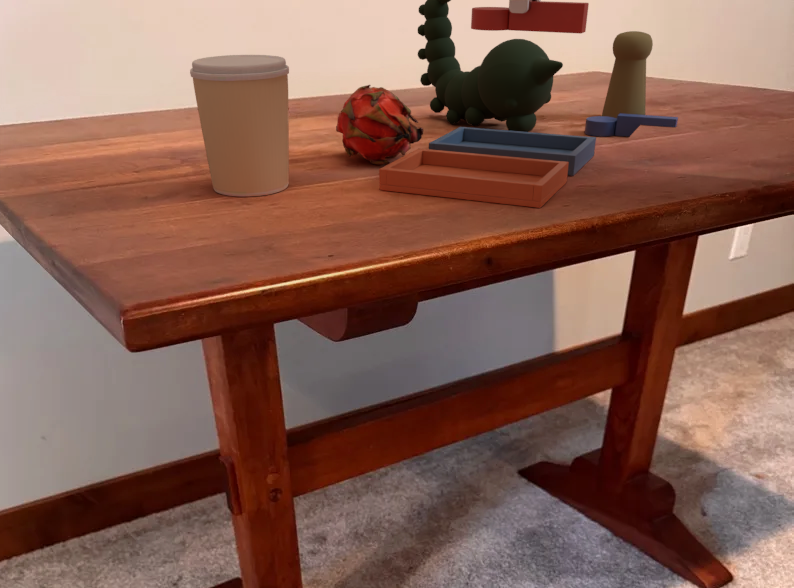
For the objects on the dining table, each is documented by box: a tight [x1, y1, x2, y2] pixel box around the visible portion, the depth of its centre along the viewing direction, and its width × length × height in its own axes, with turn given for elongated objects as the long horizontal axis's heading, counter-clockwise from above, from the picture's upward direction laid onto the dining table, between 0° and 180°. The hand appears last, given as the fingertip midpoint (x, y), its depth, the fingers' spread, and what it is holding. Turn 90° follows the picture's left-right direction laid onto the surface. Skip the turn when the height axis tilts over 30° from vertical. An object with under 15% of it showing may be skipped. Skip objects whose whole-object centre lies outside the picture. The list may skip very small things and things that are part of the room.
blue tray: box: [428, 126, 597, 177], centre depth 91 cm, size 17×10×2 cm, turn 65°
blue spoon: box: [584, 113, 679, 138], centre depth 101 cm, size 11×4×2 cm, turn 65°
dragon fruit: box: [335, 84, 424, 166], centre depth 90 cm, size 8×8×12 cm
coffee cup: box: [189, 54, 290, 197], centre depth 79 cm, size 9×9×12 cm
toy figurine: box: [417, 0, 564, 132], centre depth 103 cm, size 9×19×25 cm
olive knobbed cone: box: [601, 30, 654, 119], centre depth 110 cm, size 6×6×11 cm
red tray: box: [378, 148, 569, 209], centre depth 81 cm, size 17×10×2 cm, turn 65°
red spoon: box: [470, 0, 589, 34], centre depth 77 cm, size 11×4×2 cm, turn 64°
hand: (524, 11), depth 77 cm, fingers closed on red spoon, 1 cm apart
